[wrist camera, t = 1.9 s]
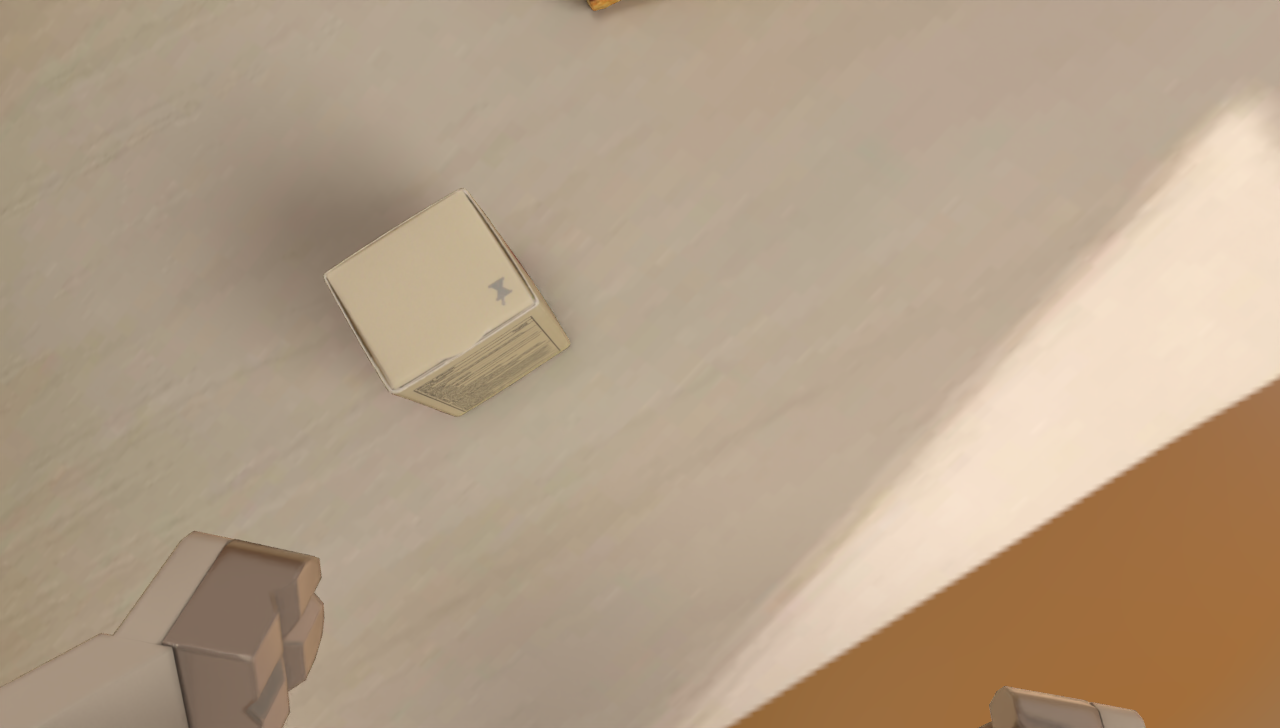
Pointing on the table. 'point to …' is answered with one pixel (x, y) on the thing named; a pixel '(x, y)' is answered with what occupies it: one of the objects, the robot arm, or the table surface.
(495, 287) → the small box
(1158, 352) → the table surface
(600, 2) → the shard
